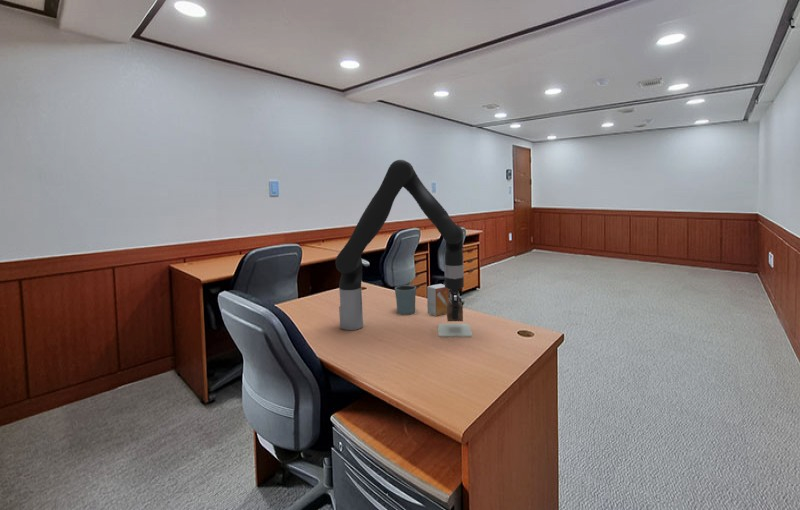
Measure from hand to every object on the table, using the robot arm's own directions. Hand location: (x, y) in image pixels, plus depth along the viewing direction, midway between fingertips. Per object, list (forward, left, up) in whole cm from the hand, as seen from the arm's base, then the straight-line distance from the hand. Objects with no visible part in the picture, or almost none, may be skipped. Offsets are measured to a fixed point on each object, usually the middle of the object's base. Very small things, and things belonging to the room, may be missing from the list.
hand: (454, 316), depth 153 cm
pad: (0, 0, -6) cm, 6 cm away
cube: (0, 0, -1) cm, 1 cm away
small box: (-6, +23, -6) cm, 25 cm away
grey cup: (-21, +25, -6) cm, 34 cm away
